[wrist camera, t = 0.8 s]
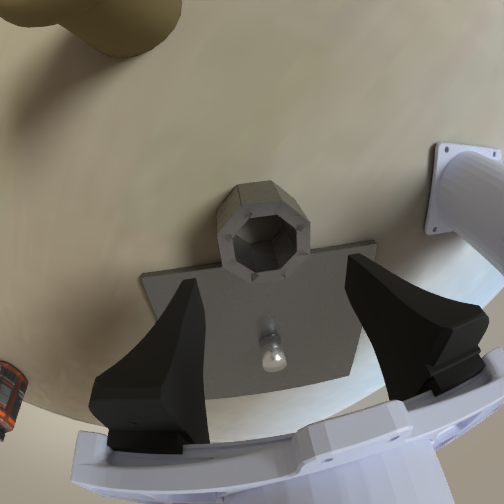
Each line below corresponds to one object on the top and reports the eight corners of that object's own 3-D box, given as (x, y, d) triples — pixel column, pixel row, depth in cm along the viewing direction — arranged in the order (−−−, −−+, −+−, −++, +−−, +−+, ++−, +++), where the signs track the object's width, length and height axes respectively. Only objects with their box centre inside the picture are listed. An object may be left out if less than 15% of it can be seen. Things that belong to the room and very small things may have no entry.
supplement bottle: (-9, 354, 25) (-35, 415, 15) (20, 366, 26) (-4, 433, 16) (5, 377, 28) (-15, 434, 18) (34, 388, 29) (15, 450, 19)
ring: (294, 177, 18) (309, 196, 15) (296, 246, 21) (309, 275, 18) (213, 188, 18) (212, 209, 15) (224, 257, 20) (226, 287, 17)
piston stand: (374, 240, 21) (393, 262, 18) (347, 371, 31) (355, 392, 28) (142, 273, 20) (133, 301, 18) (196, 395, 30) (196, 419, 27)
